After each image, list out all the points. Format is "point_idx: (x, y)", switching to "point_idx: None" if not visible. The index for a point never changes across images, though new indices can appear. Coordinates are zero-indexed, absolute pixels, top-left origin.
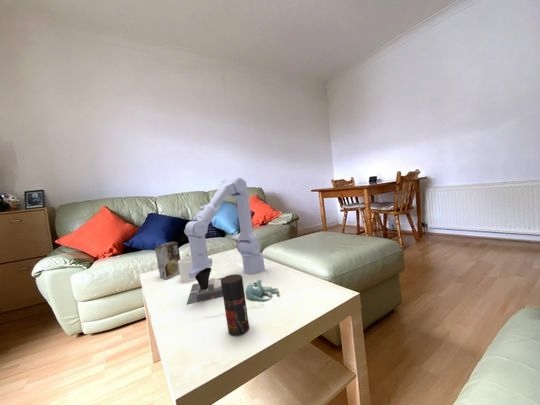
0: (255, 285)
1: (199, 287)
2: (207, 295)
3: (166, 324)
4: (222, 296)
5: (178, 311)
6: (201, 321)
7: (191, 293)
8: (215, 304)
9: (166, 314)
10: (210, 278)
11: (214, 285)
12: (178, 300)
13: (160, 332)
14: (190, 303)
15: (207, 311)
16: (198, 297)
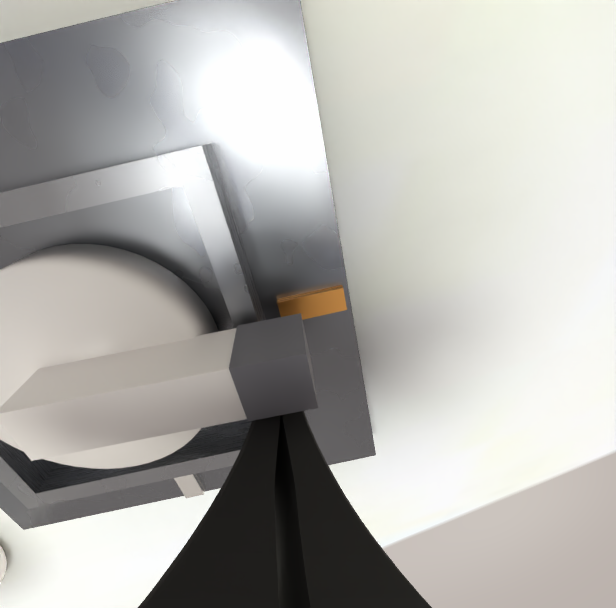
0: None
1: (151, 472)
2: None
3: (517, 464)
4: (321, 198)
5: (397, 462)
6: (606, 288)
7: (201, 483)
8: (391, 247)
9: (407, 502)
10: (33, 452)
11: (151, 348)
12: None
13: (580, 460)
14: (369, 437)
15: (484, 284)
16: None
